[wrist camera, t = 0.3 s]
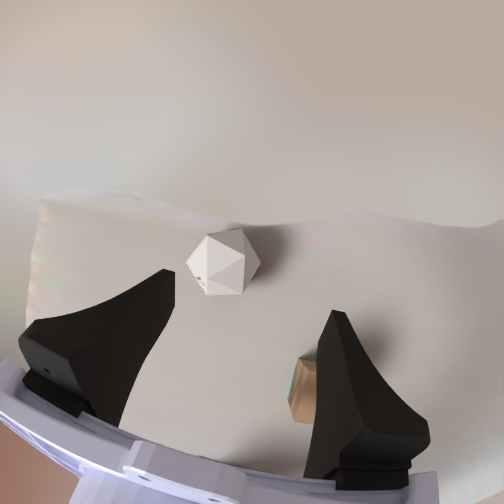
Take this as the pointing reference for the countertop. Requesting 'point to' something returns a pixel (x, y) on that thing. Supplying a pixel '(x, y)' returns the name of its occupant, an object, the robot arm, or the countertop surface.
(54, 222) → the countertop surface
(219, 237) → the die
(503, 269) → the countertop surface
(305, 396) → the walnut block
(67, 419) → the robot arm
